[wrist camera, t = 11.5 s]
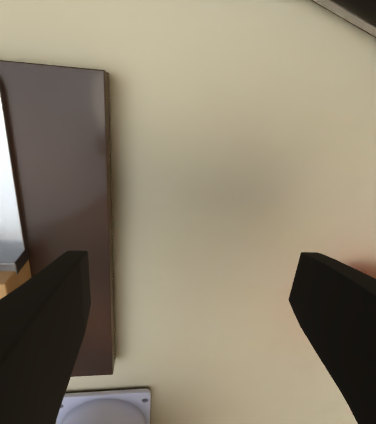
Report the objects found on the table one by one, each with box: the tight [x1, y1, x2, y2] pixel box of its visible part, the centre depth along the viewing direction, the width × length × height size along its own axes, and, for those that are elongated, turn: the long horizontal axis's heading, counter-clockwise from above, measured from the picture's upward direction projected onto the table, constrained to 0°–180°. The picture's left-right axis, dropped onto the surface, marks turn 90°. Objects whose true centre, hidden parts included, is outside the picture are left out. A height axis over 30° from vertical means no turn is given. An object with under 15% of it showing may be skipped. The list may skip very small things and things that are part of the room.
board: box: [0, 60, 115, 377], centre depth 17 cm, size 21×12×2 cm, turn 175°
